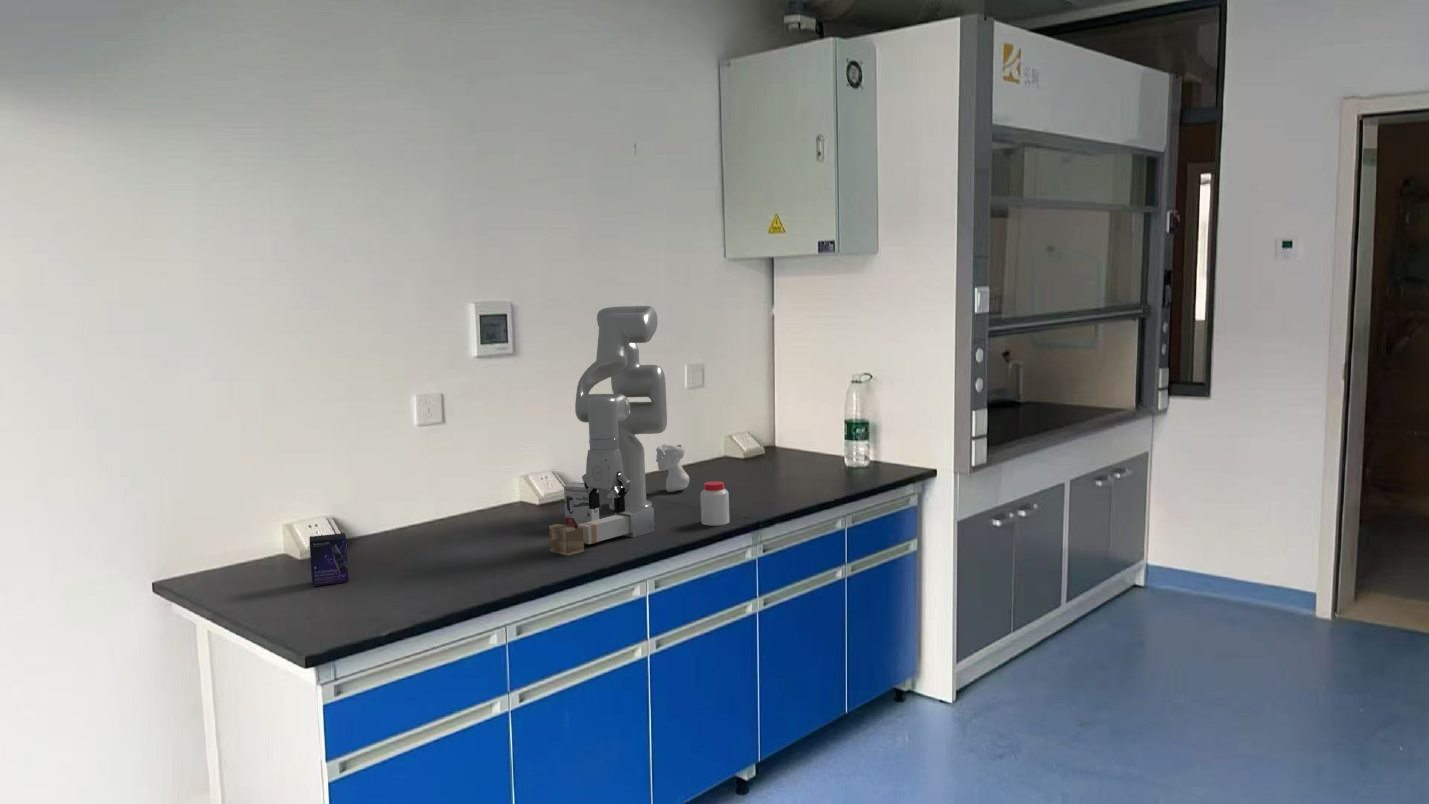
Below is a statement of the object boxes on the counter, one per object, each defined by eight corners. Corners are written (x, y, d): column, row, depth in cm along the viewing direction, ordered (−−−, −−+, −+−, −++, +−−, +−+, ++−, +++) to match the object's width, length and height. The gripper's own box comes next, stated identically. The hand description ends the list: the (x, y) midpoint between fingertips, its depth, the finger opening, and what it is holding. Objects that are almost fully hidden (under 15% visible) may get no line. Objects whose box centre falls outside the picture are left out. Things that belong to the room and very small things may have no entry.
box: (312, 587, 228) (308, 541, 227) (311, 581, 233) (308, 535, 232) (349, 582, 231) (346, 536, 230) (348, 576, 236) (344, 531, 235)
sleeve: (615, 534, 268) (614, 510, 268) (637, 528, 274) (636, 504, 274) (633, 537, 264) (631, 513, 263) (654, 531, 270) (653, 507, 269)
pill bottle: (726, 525, 273) (725, 486, 272) (698, 525, 275) (697, 485, 274) (731, 519, 281) (730, 480, 280) (704, 519, 282) (703, 480, 281)
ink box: (564, 527, 278) (562, 485, 277) (572, 523, 283) (570, 482, 281) (592, 529, 275) (590, 486, 274) (600, 524, 280) (598, 483, 278)
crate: (550, 551, 252) (549, 525, 252) (565, 547, 256) (564, 521, 255) (568, 555, 248) (567, 529, 247) (584, 551, 251) (582, 525, 251)
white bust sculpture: (695, 491, 321) (693, 445, 320) (665, 496, 315) (663, 449, 313) (679, 487, 329) (677, 441, 328) (649, 492, 323) (647, 445, 321)
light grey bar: (578, 542, 257) (577, 524, 257) (640, 525, 273) (639, 508, 273) (589, 544, 254) (588, 526, 254) (651, 527, 271) (650, 510, 270)
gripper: (571, 444, 262) (574, 509, 264) (616, 448, 251) (619, 516, 252) (593, 441, 268) (595, 504, 269) (638, 445, 256) (640, 511, 258)
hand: (607, 510), depth 261 cm, fingers open, 9 cm apart
